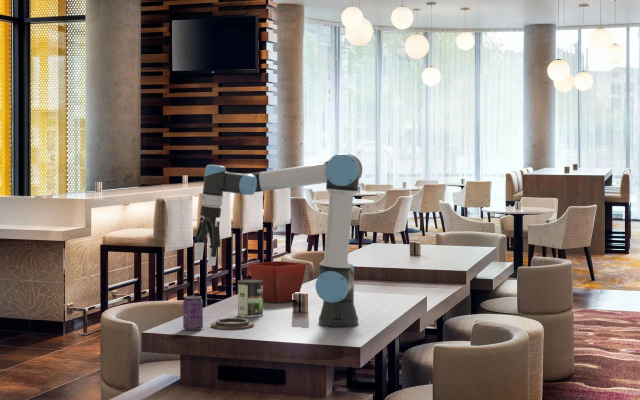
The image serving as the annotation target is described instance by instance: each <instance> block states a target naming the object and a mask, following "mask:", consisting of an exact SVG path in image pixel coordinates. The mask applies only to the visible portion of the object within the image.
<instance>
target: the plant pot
mask: <svg viewBox="0 0 640 400" xmlns="http://www.w3.org/2000/svg"><path fill="white" fill-rule="evenodd" d="M306 265H307V263H304V262H303V263H301V262H292V261H281V260H278V261H268V262H267V261H266V262H264V261H263V262H257V263H254V262H253V263H248V268H249V272H250V277H251V278H250V279H256V280H263V302H266V303H273V304H279V303H285V302H286V303H287V302H293V301H292V294H293V293H295V292H299V293H301V289H302V286H303V283H304V279H305V273H306V267H307V266H306Z"/></svg>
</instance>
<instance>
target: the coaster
mask: <svg viewBox="0 0 640 400" xmlns="http://www.w3.org/2000/svg"><path fill="white" fill-rule="evenodd" d="M254 326H255V323H254V322H253V321H250V319H247V318H244V317H225V318H219V319H217V320H216V321H214V322H212V323H210V327H211V328H212V329H214V330H215V329H216V330H221V329H226V331H235V330H234V329H241V330H246V329H247V328H248V329H252V328H253V327H254ZM248 329H247V330H248Z"/></svg>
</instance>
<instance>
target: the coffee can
mask: <svg viewBox="0 0 640 400" xmlns="http://www.w3.org/2000/svg"><path fill="white" fill-rule="evenodd" d="M237 316H238V317H239V318H258V317H259V318H260V317H264V301H263V280H256V279H252V278H250V279H239V280H237Z"/></svg>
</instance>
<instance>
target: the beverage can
mask: <svg viewBox="0 0 640 400" xmlns="http://www.w3.org/2000/svg"><path fill="white" fill-rule="evenodd" d="M203 303H204V301H203V299H202V296H200V295H186V296H184V300H183V303H182V306H183V307H182V309H183V310H182V312H183V313H182V314H183V315H182V316H183V317H182V327H183V329H185V330H186V331H193V332H194V330H196V331H199V329H200V330H201V329H203V328H204V322H203V321H204V315H203V312H204V311H203V310H204V309H203V308H204V304H203Z"/></svg>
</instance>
